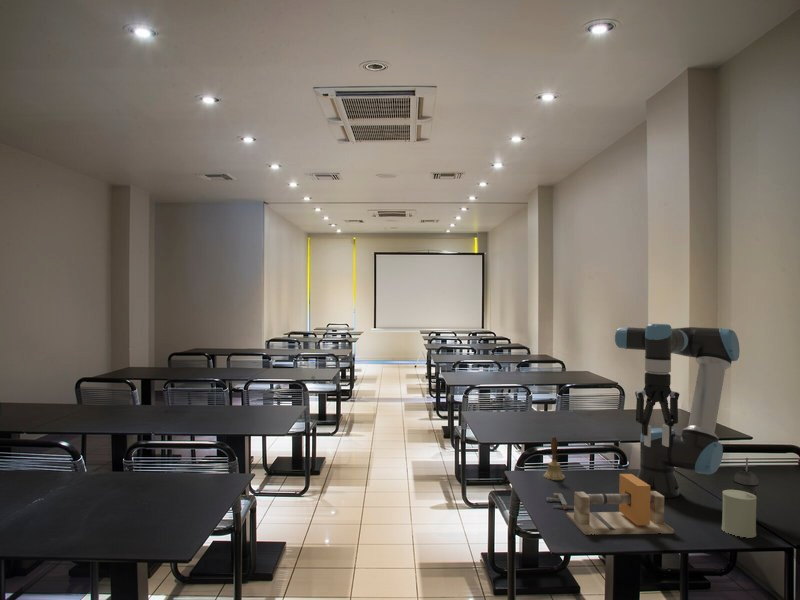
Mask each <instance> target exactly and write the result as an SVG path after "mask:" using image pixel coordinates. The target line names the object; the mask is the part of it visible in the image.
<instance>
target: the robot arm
mask: <svg viewBox="0 0 800 600" xmlns="http://www.w3.org/2000/svg"><path fill="white" fill-rule="evenodd" d="M614 342H615V345H616V347H618V348H619V349H625V350H637V351H644V352H645V354H644V371H646V372H645V373H644V388H643V390H640V391H635V392H634V393H635V397H636V405H635V407H636V409H635V422H636V423H639V424H641V433H640V440H639V443H640V445H639V446H640V447H639V448H640V449H639V457H640V459H639V470H638V472H637V475H636V477H637V478H639V479H640V480H642V481H643V482H645V483H647V484H648V485H650V491H657V492H658V493H660V494H661V495H663V496H664V499H669V498H670V499H671V498H676V497H678V496H680V486H679V483H678V479H677V477H676V474H675V468H676V469H681V470H685V471H690V472H695V473H697V474H705V475H713V474H714V473H716V472H717V471H718V469H719V468H720V466H721V463H722V461H723V455H724V453H723V450H724V447H723V444H722V443H721V442H719V439H720V438H719V437H718V435H717V434H716V433H715V432H716V428H717V427H716V426H717V421H718V415H719V410H720V403H721V397H722V391H723V385H724V381H725V380H724V379H725V375H726V374H725V373H726V370H727V369H729V368H731V367H732V366H731V365H732V362H737V361H738V360H739V358H740V352H741V351H740V343H739V337H738V336H737V333H736V332H735V331H734V330H733V329H729V328H722V327H719V328H717V327H713V328H712V327H697V326H695V327H694V326H688V327H678V328H677V327H676V328H673V327H672V325H670V324H668V323H648V324H647V325H646V326H645V327H644V328H643V327H629V326H623V327H621V326H620V327H618V328H617V330H615V334H614ZM672 354H675V355H678V356H683V357H689V358H695V362H696V363H697V364H698V370H697V376H696V381H695V386H694V391H693V397H692V402H691V408H690V413H689V418H688V425H687V426H686V427H684V428H683V429H682V431H681V435H679V434H676V433H677V432H676V431H675V429H674V428H673V427H674V425H676V424H678V423H679V406H678V404H679V398H680V393H679V392H678V391H673V390H672V388H671V383H672V382H671V380H672V378H671V375H672V374H670V373H671V372H672ZM668 397H669V399H668ZM645 398H646V400H645ZM656 403H659V405H660V410H661V412H662V413H661V414H662V417H663V422H664V423H663V424H662V426H661V427H652V426H651V425H649V424H650V420H651V417H652V414H653V411H654V406H655V405H656Z"/></svg>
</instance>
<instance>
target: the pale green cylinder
mask: <svg viewBox="0 0 800 600" xmlns="http://www.w3.org/2000/svg"><path fill="white" fill-rule="evenodd" d="M721 519H722V520H721V530H722V531H723V532H724V531H725V532H724V533H726V534H728V533H729V534H728V535H730V534H732V535H731V536H733V535H735V536H734V537H737V536H740V537H739V538H743V537H746V538H745V539H750V538H751V539H752V538H755V537H757V495H756V496H755V495H753V494H751V493H748V492H745V491H740V490H735V489H724V490H722V518H721Z"/></svg>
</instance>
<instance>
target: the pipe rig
mask: <svg viewBox="0 0 800 600" xmlns="http://www.w3.org/2000/svg"><path fill="white" fill-rule="evenodd" d="M573 496H574V497H573V506H574V509H573V512H566V514H565V515H566V517H567V518H568V519H569V520H570V521H571V522H572V523H573V524H574V525H575V526H576V527H577V528H578V529H579V531H581V532H582V533H583V534H584V535H591V534H592V535H594V534H595V535H644V534H645V535H646V534H649V535H651V534H654V535H655V534H658V533H661V534H675V529H673V527H671V526H669V525H668V524H667V523H665V498H664V496H663V495H661V494H660V493H658V492H657V491H650V525H636V524H635V523H634V522H632V521H631V520H630V519H629V518H627V517H626V516H625V515H624V514H622V513H621V512H620V511H601V512H599V511H598V512H597V511H593V512H591V510H590V508H591V505H619V504H631V494H619V493H586V492H585V491H574V494H573ZM595 535H594V536H595Z"/></svg>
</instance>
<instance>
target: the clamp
mask: <svg viewBox="0 0 800 600" xmlns="http://www.w3.org/2000/svg"><path fill="white" fill-rule="evenodd" d="M545 499H546V502H550V503H551V502H559V503H560V502H561V503H560V504H561V505H559V504H557V505H552V508H557V509H563V510H565V509H566V510H567V509H573V510H574V505H568V503H567V501H566V498H564V495H563V494H562V493H560V492H553V493H552V497H548V496H547V497H546V498H545Z"/></svg>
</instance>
